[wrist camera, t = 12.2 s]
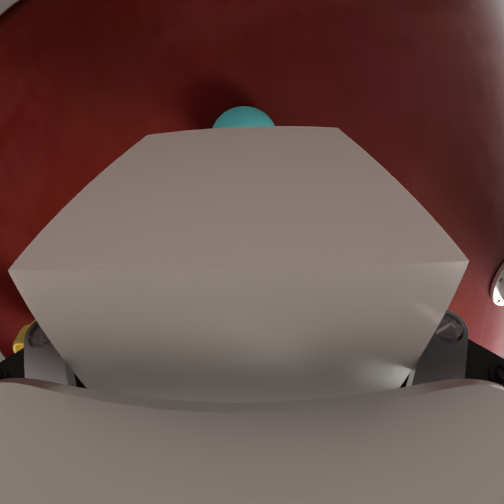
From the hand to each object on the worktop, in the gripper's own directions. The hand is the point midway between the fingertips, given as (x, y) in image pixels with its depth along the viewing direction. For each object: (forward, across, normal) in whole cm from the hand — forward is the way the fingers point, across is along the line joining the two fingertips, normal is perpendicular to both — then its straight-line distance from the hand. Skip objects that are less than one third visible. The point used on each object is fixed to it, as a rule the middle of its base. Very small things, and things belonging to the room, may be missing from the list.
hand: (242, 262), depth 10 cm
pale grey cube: (+4, 0, 0) cm, 4 cm away
